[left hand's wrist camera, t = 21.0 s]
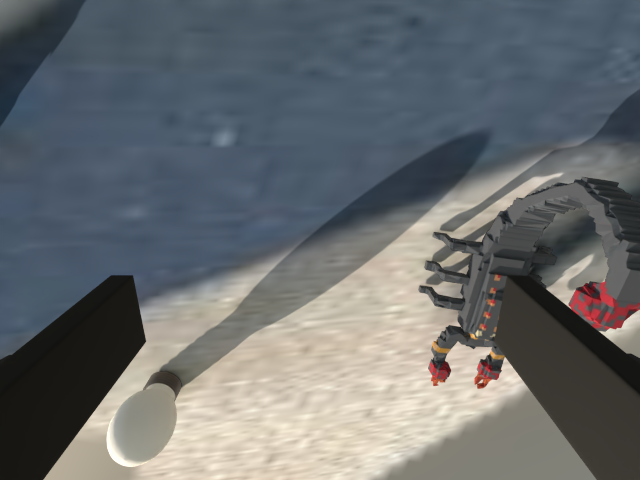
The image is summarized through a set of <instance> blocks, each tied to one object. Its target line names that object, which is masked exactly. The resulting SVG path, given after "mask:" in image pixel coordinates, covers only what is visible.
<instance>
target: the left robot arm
mask: <svg viewBox="0 0 640 480" xmlns="http://www.w3.org/2000/svg"><path fill="white" fill-rule="evenodd" d="M145 342H146V339H145V334H144V329H143V324H142V319H141V314H140V309H139V304H138V299H137V294H136V289H135V284H134V278H133V275H111V276H110V277H109V278H107V279H106V280H105V281H104V282H102V283H101V284H100V285H99V286H97V287H96V288H95V289H94V290H92V291H91V292H90V293H89V294H87V295H86V296H85V297H84V298H82V299H81V300H80V301H79V302H77V303H76V304H75V305H74V306H72V307H71V308H70V309H69V310H67V311H66V312H65V313H64V314H62V315H61V316H60V317H59V318H57V319H56V320H55V321H54V322H52V323H51V324H50V325H49V326H47V327H46V328H45V329H44V330H42V331H41V332H40V333H39V334H37V335H36V336H35V337H34V338H32V339H31V340H30V341H29V342H27V343H26V344H25V345H24V346H22V347H21V348H20V349H19V350H17V351H16V352H15V353H14V354H12V355H8V356H6V357H5V358H3V359H1V360H0V480H43V479H44V478H45V477H46V475H47V474H48V473H49V471H50V470H51V468H52V467H53V466H54V464H55V463H56V462H57V460H58V459H59V458H60V456H61V455H62V454H63V452H64V451H65V450H66V448H67V447H68V446H69V444H70V443H71V442H72V440H73V439H74V438H75V436H76V435H77V434H78V432H79V431H80V430H81V428H82V427H83V426H84V424H85V423H86V422H87V420H88V419H89V417H90V416H91V415H92V413H93V412H94V411H95V409H96V408H97V407H98V405H99V404H100V403H101V401H102V400H103V399H104V397H105V396H106V395H107V393H108V392H109V391H110V389H111V388H112V387H113V385H114V384H115V383H116V381H117V380H118V379H119V377H120V376H121V375H122V373H123V372H124V370H125V369H126V368H127V366H128V365H129V364H130V362H131V361H132V360H133V358H134V357H135V356H136V354H137V353H138V352H139V350H140V349H141V348H142V346H143V345H144V344H145ZM494 342H495V344H496V345H497V346H498V348H499V349H500V350H501V352H502V353H503V354H504V356H505V357H506V358H507V360H508V361H509V362H510V364H511V365H512V366H513V368H514V369H515V370H516V372H517V373H518V375H519V376H520V377H521V379H522V380H523V381H524V383H525V384H526V385H527V387H528V388H529V389H530V391H531V392H532V393H533V395H534V396H535V397H536V399H537V400H538V401H539V403H540V404H541V405H542V407H543V408H544V409H545V411H546V412H547V413H548V415H549V416H550V417H551V419H552V420H553V422H554V423H555V424H556V425H557V427H558V428H559V430H560V431H561V432H562V434H563V435H564V436H565V438H566V439H567V440H568V442H569V443H570V444H571V446H572V447H573V448H574V450H575V451H576V452H577V454H578V455H579V456H580V458H581V459H582V460H583V462H584V463H585V464H586V466H587V467H588V468H589V470H590V471H591V472H592V474H593V475H594V476H595V478H596V479H597V480H640V358H638V357H636V356H634V355H633V354H626V353H625V352H624V351H623V350H621V349H620V348H619V347H618V346H616V345H615V344H614V343H613V342H611V341H610V340H609V339H608V338H606V337H605V336H604V335H603V334H601V333H600V332H599V331H598V330H596V329H595V328H594V327H593V326H591V325H590V324H589V323H588V322H586V321H585V320H584V319H583V318H581V317H580V316H579V315H578V314H576V313H575V312H574V311H573V310H571V309H570V308H569V307H568V306H566V305H565V304H564V303H563V302H561V301H560V300H559V299H558V298H556V297H555V296H554V295H553V294H551V293H550V292H549V291H548V290H546V289H545V288H544V287H543V286H541V285H540V284H539V283H538V282H536V281H535V280H534V279H533V278H531V277H530V276H529V275H507V278H506V283H505V289H504V294H503V299H502V304H501V309H500V314H499V319H498V324H497V329H496V334H495V339H494Z"/></svg>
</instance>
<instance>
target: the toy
mask: <svg viewBox="0 0 640 480" xmlns="http://www.w3.org/2000/svg"><path fill="white" fill-rule="evenodd" d="M618 184H619V183H617V182H613V181H606V180H599V179H593V178H586V177H582V178H581V180H576V179H575V181H574V183H571V184H564V183H556V184H555V185H552V186H551V187H546V189H541V191H536V193H533V194H531V195H527V196H526V197H525V198H524V199H523V198H516V200H514V202H513V205H510V207H508V208H507V210H505V211H500V212H499V214H498V215H497V217H496V219H495V221H494V223H493V225H492V226H491V228H490V230H488V231H487V233H486V234H485V236H484V238H483V240H482V242H474V241H465V240H460V239H454V238H451V237H449V236H448V235H447V234H445V233H437V232H434V233H433V237H434V238H436V239H439V240H442V241H443V242H444V243H445V244H446V245H447V246H448V247H449V249H450V250H452V251H462V253H471V254H472V257H471V260H470V263H469V266H468V267H469V270H468V272H467V274H466V275H465V274H463V273H457V272H452V271H447V270H444V269H442V267H441V266H440V264H438V263H437V262H433V261H426V263H425V267H424V268H425V269H426V270H429V271H433V272H435V273H437V274H438V276H439V277H440V278H441V279H442V280H444V281H446V282H453V283H460V284H463V285H462V289H461V292H460V293H461V294H462V295H463V298H462V299H460V298H452V297H448V296H443V295H438V294H437V293H436V292H435V291H434V289H433V288H432V287H428V286H419V292H421V293H425V294H428V295H429V297H430V299H431V300H432V302H433V303H434V305H435V306H438V307H442V308H448V309H453V310H459V311H458V313H459V315H458V322H459V324H460V325H461V327H462V328H461V327H457V326H451V325H449V326H448V327H446V330H445V331H442V332H441V335H440V337H438V339H437V340H436V342H435V341H434V342H433V345H432V349H431V350H432V353H433V355H434V358H433V360H432V359H431V362H430V365H429V367H428V369H429V371H430V372H431V374H432V379H431V381H433V386H437V385H438V384H437V383H438V381H440V382H445V380H446V379H447V377H449V375H450V372H451V369H450V367H449V364H448V362H445V358H446V355H447V353H448V352H449V351H450V350H451V348H452V347H453V346H454V345H455V344H456V342H457V341H459V342H460V343H461V344H463V345H466V346H470V347H471V348H473V349H474V348H475V347H492V349H491V352H490V354H489V355H487V357H486V359H485V360H483V359H481V360H480V362H479V365H478V368H477V370H478V375H477V376H476V377H475V384H477V383H479V382H480V380H481V379H484V380H483V383H479V384H477V388H478V389H480V388H484V387H485V386H486V385H487V384H488V382H489V381H490V380H492V379H494V380H497V379H498V378H499V374H500V372H501V371H502V370H501V367H502V364H503V360H504V357H505V356H504V354H503V353H502V352H501V350H500V349H499V348H498V346H497V345H496V344H495V342H494V339H495V334H496V329H497V324H498V319H499V314H500V309H501V304H502V299H503V294H504V289H505V283H506V278H507V275H529V276H530V277H531V278H533V279H534V280H535V281H536V282H538V283H539V284H540V285H541V286H543V287H544V288H546V285H544V284H543V283H542V282H541V280H542V278H541V277H540V276H539V275H533V274H528V272H529V269H530V266H531V263H539V264H549V265H554V264H555V262H556V259H557V257H556V256H554V255H552V254H551V253H552V251H553V250H552V249H551V248H549V247H542V246H539V249H538V252H537V253H535V250H536V248H537V247H536V246H535V245H534V244H535V243H536V241H538V239H539V237H540V236H542V233H543V230H544V229H545V228H547V226H548V225H549V224H550V222H553V218H554V216H555V213H563V214H565V212H566V211H568V210H569V209H570V210H575V208H580V207H582V208H583V209H586V210H588V211H589V216H591V217H593V218H595V219H594V222H595V223H596V233H598V234H600V235H601V236H602V237H601V240H603V247H604V251H605V254H606V255H605V257H608V258H609V259H608V261H607V264H608V267H609V271H608V274H607V277H606V279H605V282H602V283H597V282H589V284H588V283H586V284H585V285H584V286H582V287H578V288H576V290H575V292H574V294H573V296H572V298H571V300H570V302H569V306H570V307H571V309H572V310H573V311H574V312H575V313H576V314H578V315H579V316H580V317H581V318H583V319H584V320H585V321H586V322H588V323H589V324H590V325H591V326H593V327H594V328H595V329H596V330H598V331H604V332H606V331H607V330H608V329H609V328H613V329H616V328H621V327H622V325H623V322H624V321H625V320H626V319H627V318H628V317H630V316H631V315H632V314H633V313H635V312H637V311H638V310H640V202H636V201H633V200H630V199H631V196H632V195H630V194H628V193H626V192H625V191H624V190H622V189H620V188H618V187H617V186H618Z"/></svg>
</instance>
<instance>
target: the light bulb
mask: <svg viewBox="0 0 640 480" xmlns="http://www.w3.org/2000/svg"><path fill="white" fill-rule="evenodd" d="M180 389H181V382H180V380H179V379H178V378H177V377H176V376H175V375H173V374H171V373H168V372H157V373H154V374H153V375H152V376H151V377H150V379H149V380H148V382H147V384H146V385H145V387H144V389H143V390H142V391H140V392H137V393H136V394H134V395H132V396H131V397H129V398H128V399H127V400H126V401H125V402H124V403H123V404H122V405H121V406H120V407H119V408H118V410H117V411H116V413H115V415H114V416H113V418H112V420H111V422H110V425H109V428H108V432H107V448H108V451H109V454H110V456H111V457H112V459H113V460H114V461H116V462H117V463H119V464H120V465H123V466H129V467H133V466H138V465H141V464H144V463H146V462H148V461H149V460H151V459H153V458H154V457H155V456H156V455H158V454H159V453H160V452H161V451H162V450H163V448H164V447H165V446H166V445H167V443H168V442H169V440H170V438H171V436H172V434H173V431H174V428H175V425H176V420H177V409H176V405H175V402H174V401H175V400H176V398H177V396H178V393H179V391H180Z"/></svg>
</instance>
